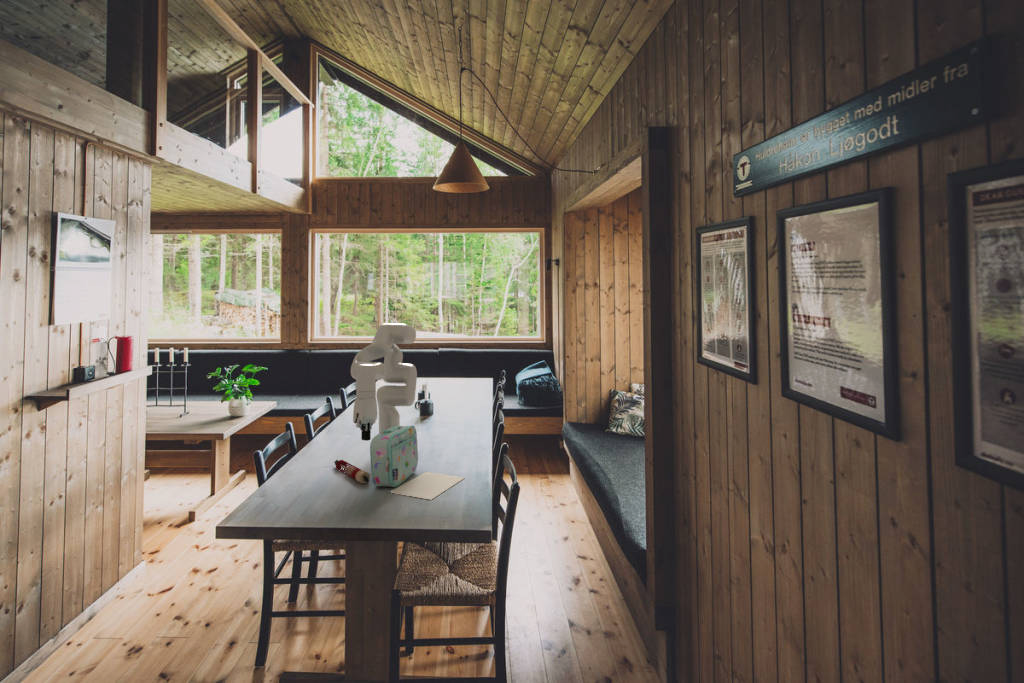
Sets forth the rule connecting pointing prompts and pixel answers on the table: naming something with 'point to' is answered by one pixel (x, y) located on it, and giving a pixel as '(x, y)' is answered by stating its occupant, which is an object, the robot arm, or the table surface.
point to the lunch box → (393, 455)
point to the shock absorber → (353, 471)
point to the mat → (427, 485)
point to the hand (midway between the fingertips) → (366, 439)
